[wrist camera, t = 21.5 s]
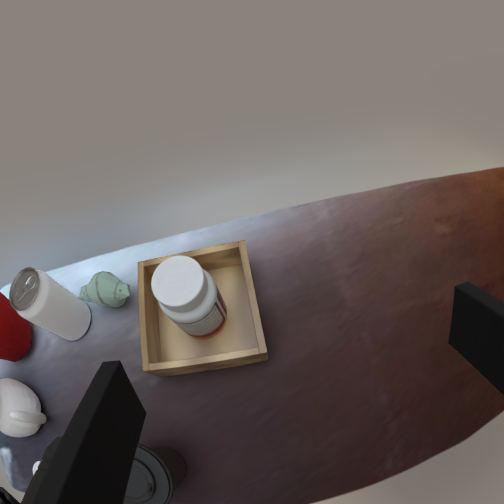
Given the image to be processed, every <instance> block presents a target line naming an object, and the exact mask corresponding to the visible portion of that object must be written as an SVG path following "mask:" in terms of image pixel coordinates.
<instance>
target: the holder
mask: <svg viewBox="0 0 504 504" xmlns="http://www.w3.org/2000/svg"><path fill="white" fill-rule="evenodd" d="M179 255H180V256H181V255H182V256H188V257H190V258H192V259H194V260H196V261H197V262H198V263H199V264H200V266H201V268H202V269H204V270H205V271H207V272H208V273H209V274H210V275H211V277H212V278H213V280H214V282H215V284H216V286H217V288H218V290H219V292H220V294H221V296H222V298H223V300H224V302H225V305H226V308H227V320H226V323H225V325H224V327H223V328H222V330H221V331H220V332H219V333H217V334H216V335H214V336H212V337H210V338H206V339H198V338H194V337H192V336H190V335H188V334H187V333H186V332H184V331H183V330H182V329H181V328H180V327H179V326H177V325H176V324H175V323H174V322H173V321H172V320H171V319H170V318H169V317H167V316H166V314H165V313H164V312H163V311H162V309H161V307H160V305H159V301H158V300H157V299H156V297H155V296H154V294H153V291H152V287H151V281H152V276H153V273H154V271H155V270H156V268H157V267H158V266H159V265H160V264H161V263H162V262H163V261H164V260H166V259H168V258H170V257H173V256H179ZM138 298H139V322H140V339H141V352H142V364H143V371H144V372H147V373H150V374H153V375H156V376H160V377H163V376H172V375H180V374H188V373H196V372H203V371H209V370H216V369H222V368H228V367H234V366H240V365H245V364H251V363H256V362H261V361H266V360H269V358H268V353H267V348H266V343H265V338H264V333H263V328H262V324H261V319H260V314H259V309H258V304H257V299H256V294H255V289H254V284H253V279H252V275H251V270H250V265H249V260H248V255H247V250H246V245H245V240H242V241H238V242H233V243H228V244H223V245H218V246H213V247H208V248H203V249H198V250H194V251H189V252H184V253H179V254H174V255H170V256H165V257H160V258H155V259H151V260H146V261H141V262H138Z"/></svg>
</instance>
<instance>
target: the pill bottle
mask: <svg viewBox="0 0 504 504" xmlns="http://www.w3.org/2000/svg"><path fill="white" fill-rule="evenodd" d="M151 287H152V291H153V294H154V296H155V297H156V299H157V300H158V301H159V305H160V307H161V309H162V311H163V312H164V313H165V314H166V316H167V317H169V318H170V319H171V320H172V321H173V322H174V323H175V324H176V325H177V326H179V327H180V328H181V329H182V330H183V331H184V332H186V333H187V334H188V335H190V336H192V337H194V338H198V339H206V338H210V337H212V336H214V335H216V334H217V333H219V332H220V331H221V330H222V328H223V327H224V325H225V323H226V320H227V308H226V305H225V302H224V300H223V298H222V296H221V294H220V292H219V290H218V288H217V286H216V284H215V282H214V280H213V278H212V277H211V275H210V274H209V273H208V272H207V271H205V270H204V269H202V268H201V266H200V264H199V263H198V262H197V261H196V260H194V259H192V258H190V257H188V256H182V255H181V256H180V255H179V256H173V257H170V258H168V259H166V260H164V261H163V262H162V263H161V264H160V265H159V266H158V267H157V268H156V270H155V271H154V273H153V276H152V281H151Z"/></svg>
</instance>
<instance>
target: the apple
mask: <svg viewBox="0 0 504 504" xmlns="http://www.w3.org/2000/svg"><path fill="white" fill-rule="evenodd" d="M31 335H32V331H31V327H30V322H29V321H28V320H26V319H25V318H23V317H21V316H20V315H19V314H18V312H17V311H16V310H15V309H14V308H13V307H12V306H11V303H10V300H9V299H7V298H6V297H5V296H4V295H3V294H2V293H1V292H0V359H4V360H9V361H14V362H16V361H18V360H20V359H22V358H23V356H24V355H25V354H26V353H27V352H28V350H29V348H30V345H31Z"/></svg>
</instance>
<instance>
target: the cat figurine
mask: <svg viewBox="0 0 504 504" xmlns="http://www.w3.org/2000/svg"><path fill="white" fill-rule="evenodd" d="M45 422H46V416H45V415H44V414H43V413H41V404H40V401H39V398H38V397H37V395H36V394H35V393H34V392H33V391H32V390H31V389H30V388H29V387H28V386H26V385H24V384H23V383H21V382H19V381H17V380H14V379H10V378H4V379H0V431H1V432H3V433H4V434H6V435H9V436H12V437H26V436H30V435H33V434H35V433H36V432H37V431H38V430H39V428H40V426H41V424H44V423H45Z"/></svg>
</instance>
